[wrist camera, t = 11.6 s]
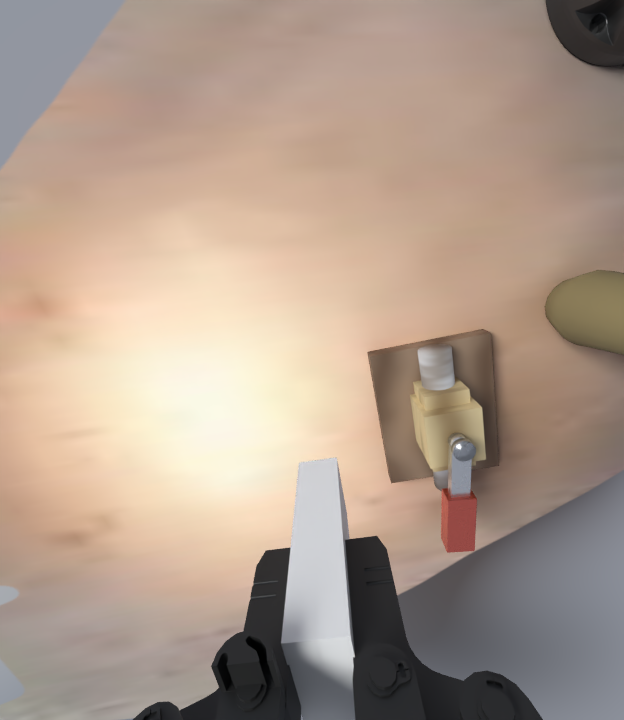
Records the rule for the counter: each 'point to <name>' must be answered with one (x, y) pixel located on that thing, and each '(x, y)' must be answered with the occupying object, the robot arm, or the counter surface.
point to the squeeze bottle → (590, 310)
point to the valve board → (398, 403)
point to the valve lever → (459, 497)
